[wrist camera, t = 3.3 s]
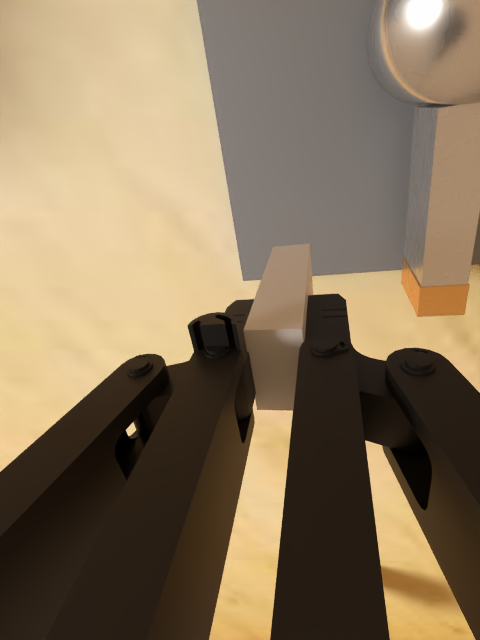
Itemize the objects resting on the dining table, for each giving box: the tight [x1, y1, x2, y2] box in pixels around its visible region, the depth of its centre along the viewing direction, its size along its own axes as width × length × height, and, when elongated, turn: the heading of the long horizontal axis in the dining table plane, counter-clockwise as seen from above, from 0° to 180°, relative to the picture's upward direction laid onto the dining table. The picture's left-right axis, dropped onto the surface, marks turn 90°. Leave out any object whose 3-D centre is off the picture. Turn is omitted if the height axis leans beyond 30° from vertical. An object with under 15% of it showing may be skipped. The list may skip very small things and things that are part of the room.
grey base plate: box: [197, 0, 480, 281], centre depth 18 cm, size 22×24×2 cm
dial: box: [367, 0, 480, 317], centre depth 16 cm, size 15×6×6 cm, turn 9°
